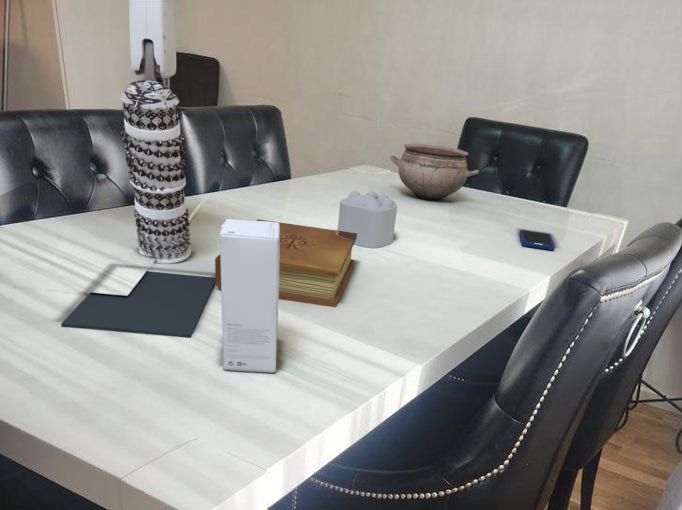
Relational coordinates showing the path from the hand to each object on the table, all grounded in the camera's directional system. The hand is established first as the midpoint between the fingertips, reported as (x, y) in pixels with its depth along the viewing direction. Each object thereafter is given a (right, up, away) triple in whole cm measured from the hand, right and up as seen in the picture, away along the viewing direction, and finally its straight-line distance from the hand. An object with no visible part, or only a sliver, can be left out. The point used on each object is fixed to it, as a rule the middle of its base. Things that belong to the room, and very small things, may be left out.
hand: (160, 129), depth 101 cm
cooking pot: (+50, +24, +80) cm, 97 cm away
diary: (+20, -21, +7) cm, 30 cm away
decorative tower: (-2, -16, +9) cm, 18 cm away
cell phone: (+72, 0, +49) cm, 87 cm away
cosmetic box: (+18, -40, -21) cm, 48 cm away
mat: (+1, -29, -9) cm, 30 cm away
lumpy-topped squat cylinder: (+33, -5, +34) cm, 48 cm away
